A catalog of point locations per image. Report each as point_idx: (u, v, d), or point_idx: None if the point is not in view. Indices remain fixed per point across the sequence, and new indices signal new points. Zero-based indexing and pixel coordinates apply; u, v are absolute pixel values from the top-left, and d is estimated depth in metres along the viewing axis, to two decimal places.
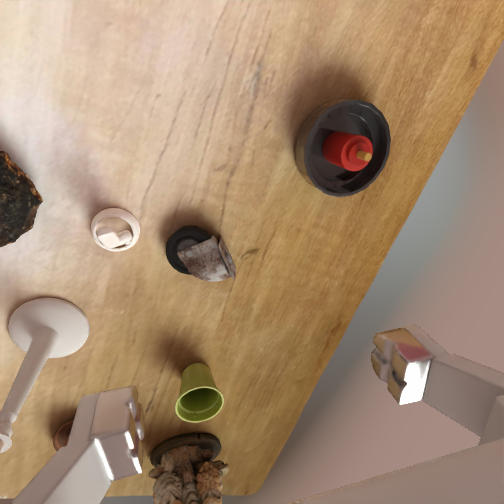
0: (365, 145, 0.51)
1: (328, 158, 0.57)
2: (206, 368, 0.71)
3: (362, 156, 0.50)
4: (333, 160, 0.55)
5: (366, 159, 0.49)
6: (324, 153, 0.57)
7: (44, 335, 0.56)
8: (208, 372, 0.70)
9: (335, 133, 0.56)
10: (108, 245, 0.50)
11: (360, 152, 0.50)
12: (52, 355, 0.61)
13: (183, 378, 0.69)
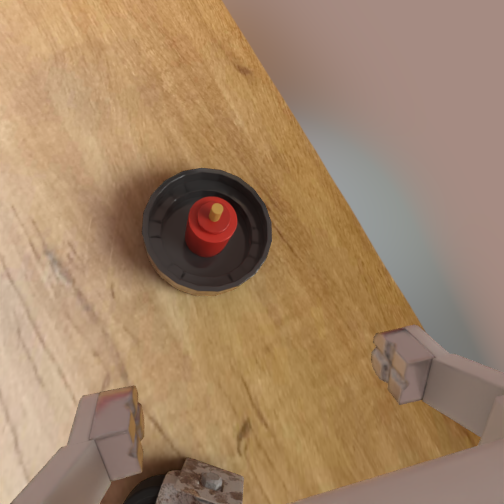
0: (209, 203, 0.36)
1: (205, 253, 0.41)
2: None
3: (212, 214, 0.34)
4: (206, 249, 0.39)
5: (218, 212, 0.34)
6: (198, 254, 0.42)
7: None
8: None
9: None
10: None
11: (209, 213, 0.35)
12: None
13: None
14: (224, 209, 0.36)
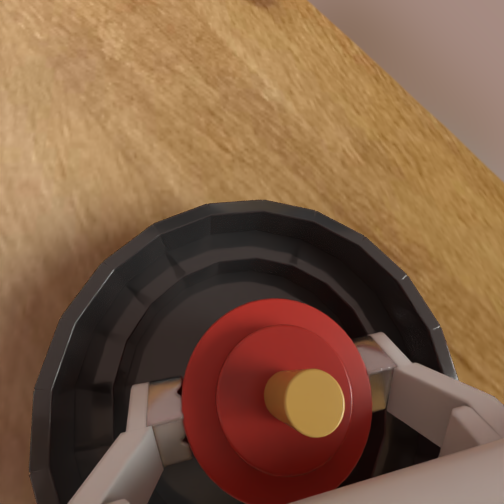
0: (257, 341, 0.09)
1: None
2: None
3: (292, 427, 0.07)
4: None
5: (325, 423, 0.06)
6: None
7: None
8: None
9: None
10: None
11: (270, 402, 0.08)
12: None
13: None
14: (319, 351, 0.09)
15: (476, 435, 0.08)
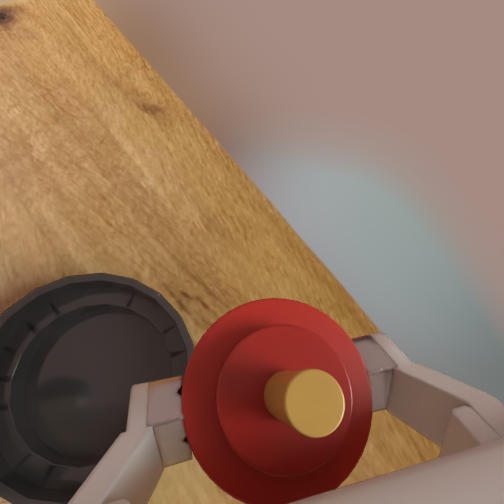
0: (257, 341, 0.09)
1: None
2: None
3: (292, 427, 0.07)
4: None
5: (325, 423, 0.06)
6: None
7: None
8: None
9: None
10: None
11: (270, 402, 0.08)
12: None
13: None
14: (319, 351, 0.09)
15: (476, 435, 0.08)
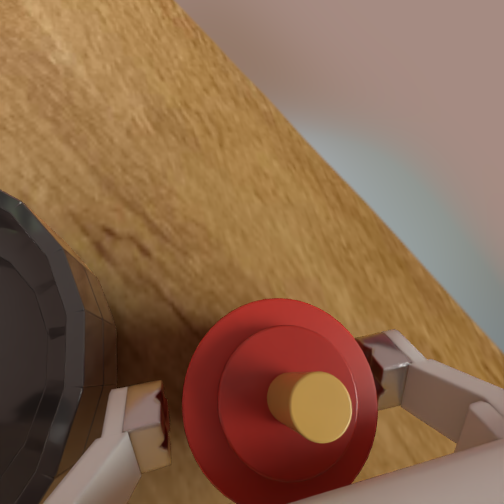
0: (259, 342, 0.09)
1: None
2: None
3: (297, 431, 0.06)
4: None
5: (332, 428, 0.06)
6: None
7: None
8: None
9: None
10: None
11: (273, 405, 0.07)
12: None
13: None
14: (323, 353, 0.09)
15: (494, 430, 0.08)
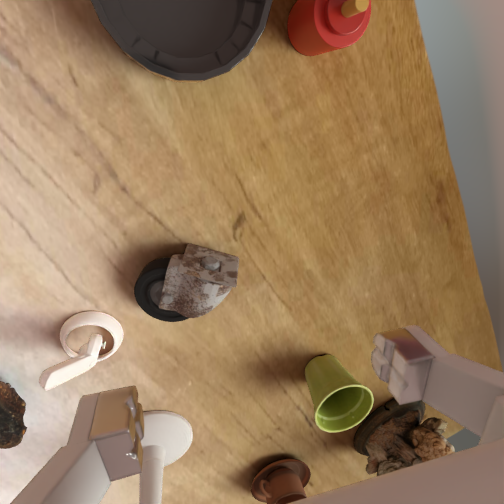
0: None
1: (314, 53, 0.34)
2: (324, 360, 0.54)
3: (353, 10, 0.27)
4: (321, 51, 0.33)
5: (363, 8, 0.26)
6: (303, 52, 0.35)
7: (144, 460, 0.50)
8: (328, 364, 0.53)
9: (292, 14, 0.33)
10: (82, 371, 0.39)
11: (345, 7, 0.27)
12: (176, 457, 0.55)
13: (309, 388, 0.54)
14: None
15: None
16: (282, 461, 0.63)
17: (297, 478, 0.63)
